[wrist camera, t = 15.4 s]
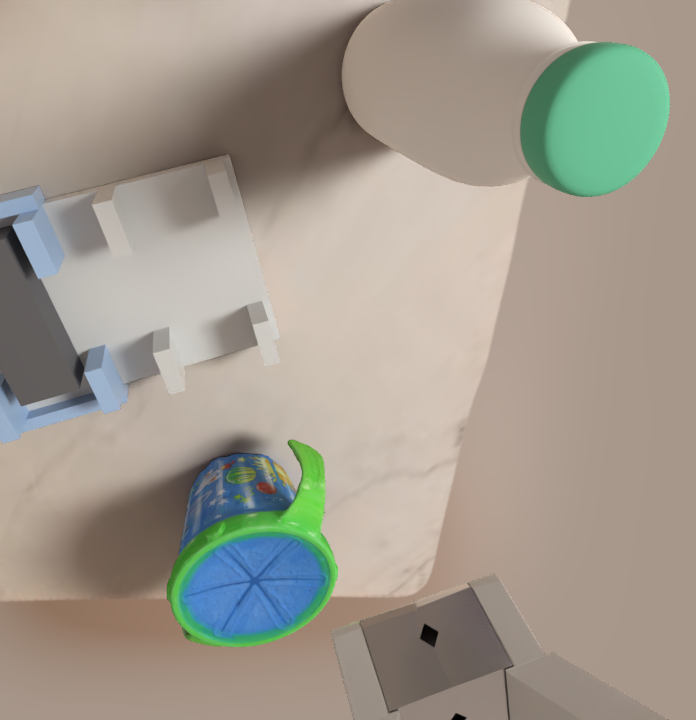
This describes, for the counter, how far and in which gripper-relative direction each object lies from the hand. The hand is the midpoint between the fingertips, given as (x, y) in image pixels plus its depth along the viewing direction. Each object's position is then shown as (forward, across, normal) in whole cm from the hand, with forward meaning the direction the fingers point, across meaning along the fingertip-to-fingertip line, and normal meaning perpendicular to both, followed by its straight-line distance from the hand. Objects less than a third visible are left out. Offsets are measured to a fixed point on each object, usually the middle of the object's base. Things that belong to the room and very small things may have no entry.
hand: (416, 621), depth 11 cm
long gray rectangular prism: (+30, +14, +3) cm, 33 cm away
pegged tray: (+31, +9, +4) cm, 33 cm away
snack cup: (+31, +6, +22) cm, 39 cm away
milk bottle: (+31, -11, -4) cm, 33 cm away
